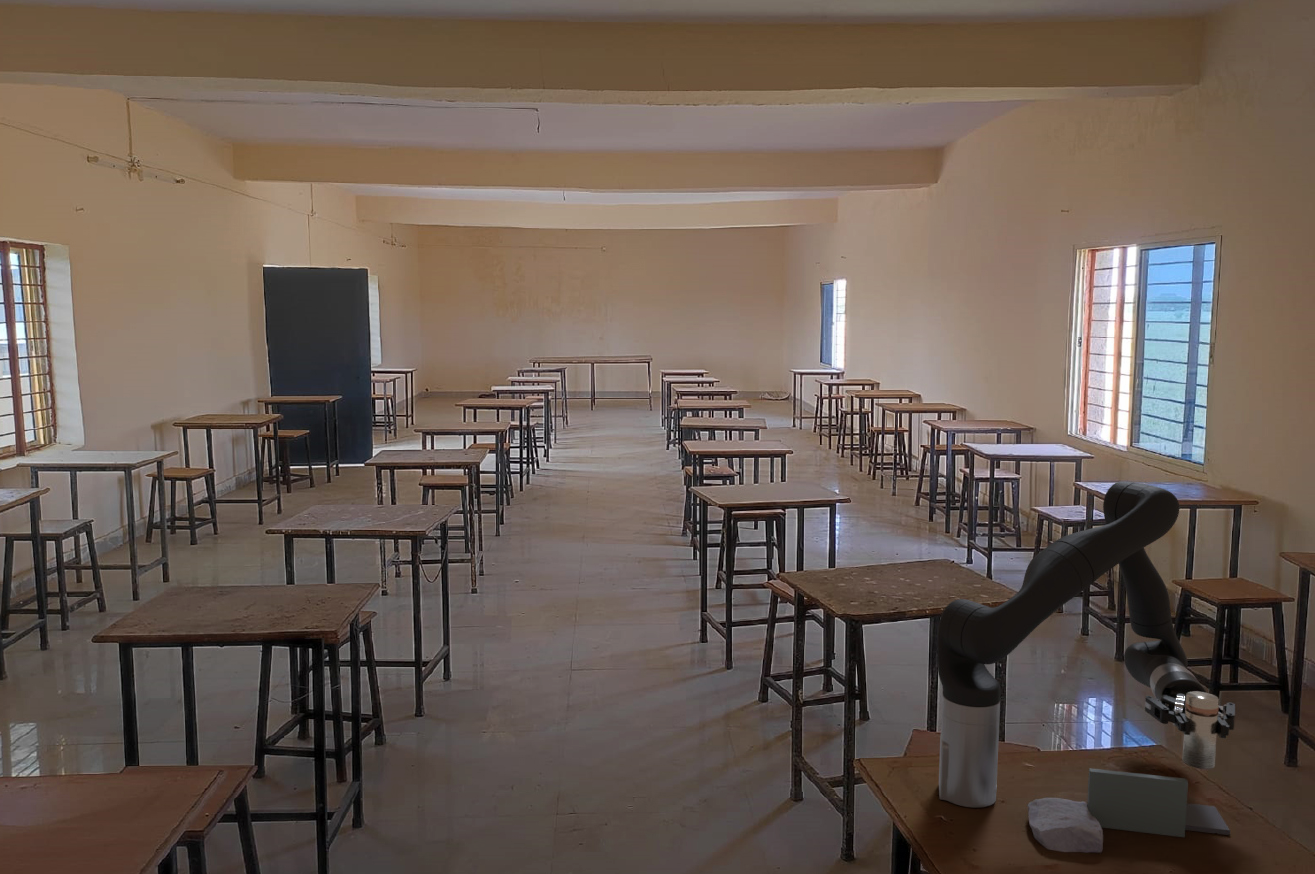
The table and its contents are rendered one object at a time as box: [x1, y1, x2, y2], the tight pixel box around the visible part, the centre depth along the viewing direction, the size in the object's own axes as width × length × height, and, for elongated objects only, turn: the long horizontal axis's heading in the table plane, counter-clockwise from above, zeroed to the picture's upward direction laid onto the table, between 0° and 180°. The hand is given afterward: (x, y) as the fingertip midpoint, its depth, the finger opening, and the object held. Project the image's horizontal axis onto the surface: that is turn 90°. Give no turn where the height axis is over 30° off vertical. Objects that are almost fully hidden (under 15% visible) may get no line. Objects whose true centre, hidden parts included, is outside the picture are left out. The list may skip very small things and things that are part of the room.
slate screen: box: [1086, 768, 1189, 838], centre depth 153 cm, size 14×1×9 cm, turn 75°
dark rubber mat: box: [1185, 802, 1231, 836], centre depth 156 cm, size 8×8×1 cm
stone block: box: [1027, 797, 1104, 854], centre depth 152 cm, size 12×5×10 cm
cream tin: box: [1182, 691, 1220, 770], centre depth 155 cm, size 5×5×11 cm
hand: (1205, 730), depth 152 cm, fingers closed on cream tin, 4 cm apart
